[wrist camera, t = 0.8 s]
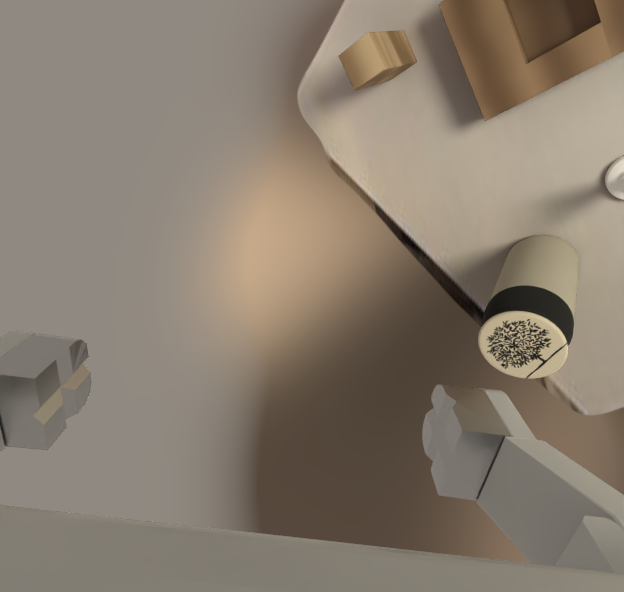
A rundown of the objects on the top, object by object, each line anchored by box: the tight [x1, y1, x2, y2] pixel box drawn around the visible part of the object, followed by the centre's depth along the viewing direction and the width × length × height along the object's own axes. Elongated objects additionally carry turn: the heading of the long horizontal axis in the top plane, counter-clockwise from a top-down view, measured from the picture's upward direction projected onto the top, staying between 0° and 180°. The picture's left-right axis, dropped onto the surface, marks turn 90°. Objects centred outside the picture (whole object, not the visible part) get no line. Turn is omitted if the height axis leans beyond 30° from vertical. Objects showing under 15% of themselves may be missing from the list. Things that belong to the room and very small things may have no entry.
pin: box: [339, 31, 417, 90], centre depth 44 cm, size 4×4×10 cm
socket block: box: [439, 0, 624, 121], centre depth 37 cm, size 16×12×4 cm
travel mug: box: [478, 235, 579, 378], centre depth 44 cm, size 8×8×18 cm
